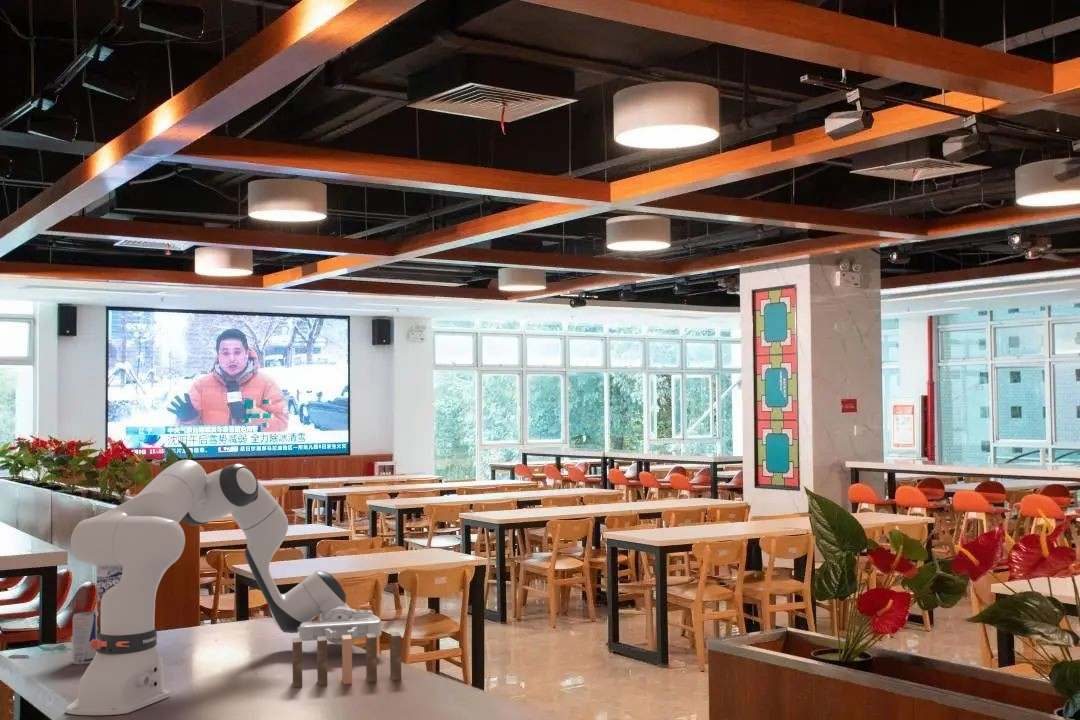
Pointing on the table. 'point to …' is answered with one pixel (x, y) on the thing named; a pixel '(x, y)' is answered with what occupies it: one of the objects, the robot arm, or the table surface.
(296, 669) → the domino
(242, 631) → the table surface
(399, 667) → the domino
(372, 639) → the domino
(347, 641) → the domino
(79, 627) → the energy drink
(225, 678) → the table surface
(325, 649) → the domino
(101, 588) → the juice carton
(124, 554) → the robot arm
